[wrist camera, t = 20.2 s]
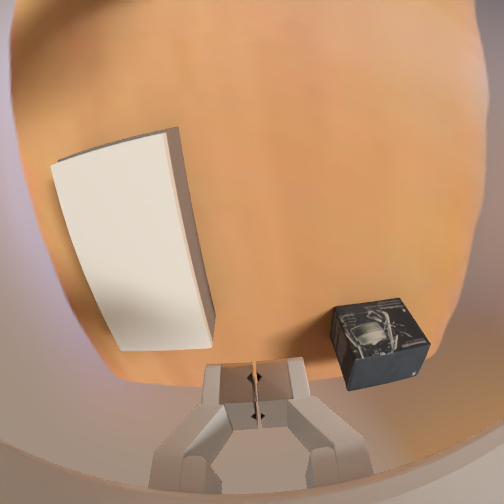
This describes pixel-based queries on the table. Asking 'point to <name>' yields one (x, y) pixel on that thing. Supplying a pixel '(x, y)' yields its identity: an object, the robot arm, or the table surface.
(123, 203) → the cover
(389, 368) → the box
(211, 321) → the trough
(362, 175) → the table surface
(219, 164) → the table surface
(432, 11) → the table surface
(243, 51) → the table surface
